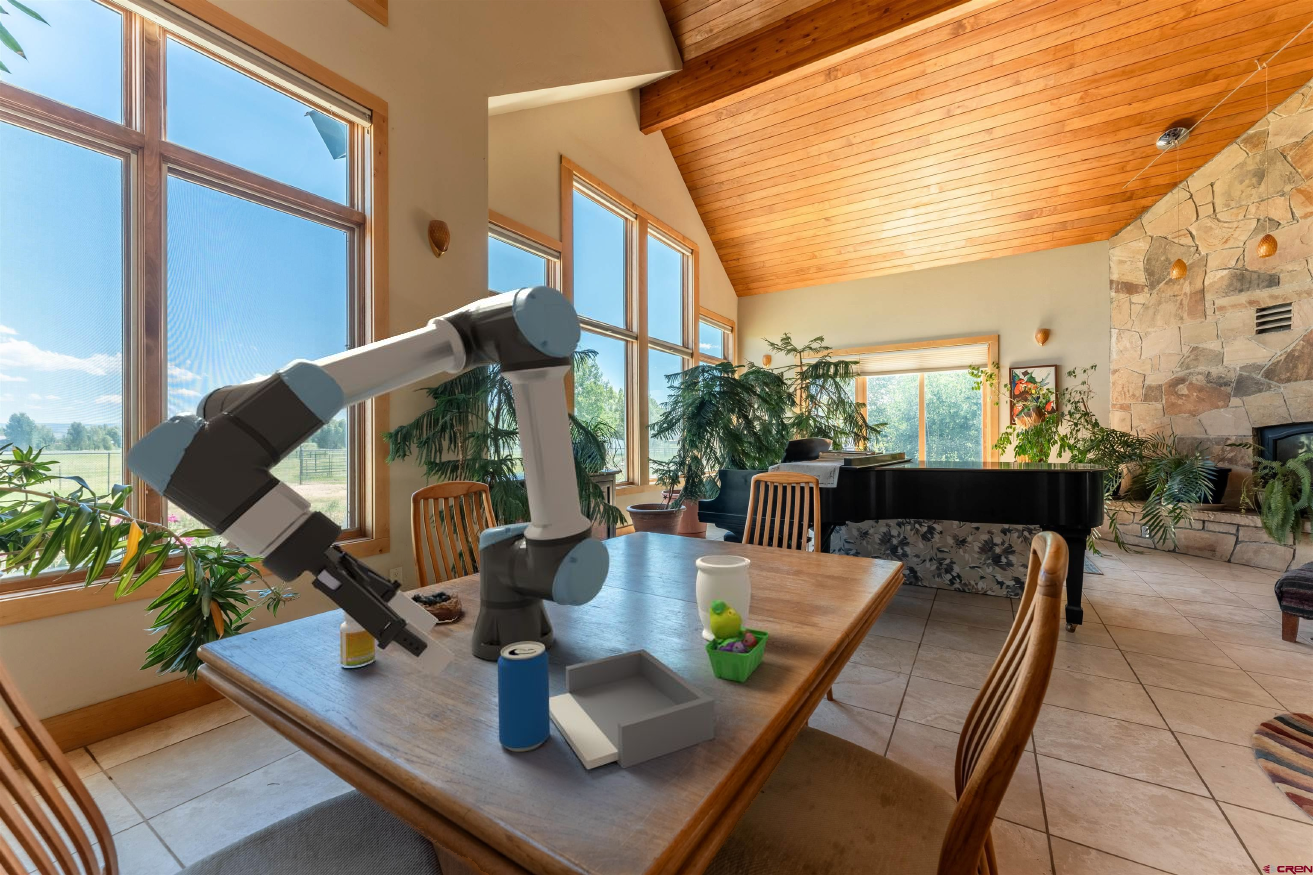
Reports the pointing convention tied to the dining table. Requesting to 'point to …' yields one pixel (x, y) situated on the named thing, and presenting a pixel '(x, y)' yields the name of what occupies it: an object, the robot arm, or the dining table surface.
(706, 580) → the jar
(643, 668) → the tray
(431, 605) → the pastry
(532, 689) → the beverage can
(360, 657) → the supplement bottle
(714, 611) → the fruit basket
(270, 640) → the dining table surface
